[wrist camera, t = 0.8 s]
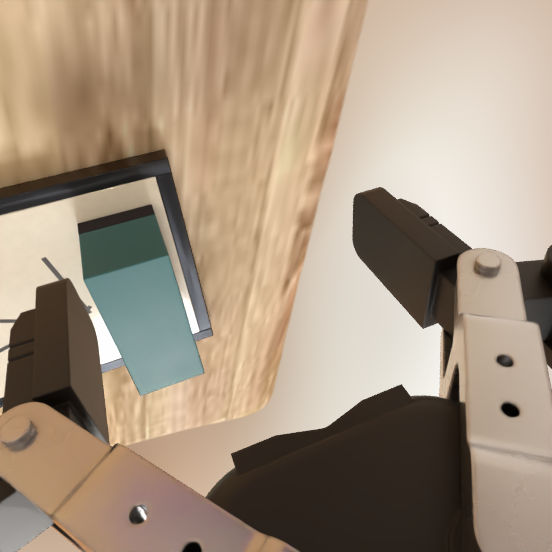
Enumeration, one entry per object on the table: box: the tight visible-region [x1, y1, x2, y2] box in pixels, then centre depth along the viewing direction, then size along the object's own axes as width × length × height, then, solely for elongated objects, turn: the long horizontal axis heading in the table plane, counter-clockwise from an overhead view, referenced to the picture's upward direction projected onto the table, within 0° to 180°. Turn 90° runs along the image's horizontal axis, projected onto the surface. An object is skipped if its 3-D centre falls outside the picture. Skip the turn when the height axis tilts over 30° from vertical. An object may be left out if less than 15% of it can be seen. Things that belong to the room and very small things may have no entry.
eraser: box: [77, 204, 204, 396], centre depth 30 cm, size 11×5×6 cm, turn 5°
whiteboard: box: [0, 150, 213, 408], centre depth 31 cm, size 16×22×1 cm
